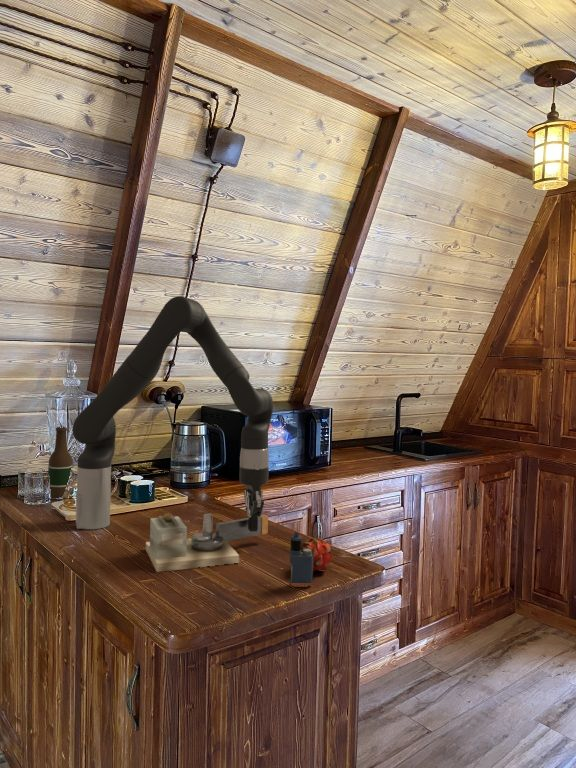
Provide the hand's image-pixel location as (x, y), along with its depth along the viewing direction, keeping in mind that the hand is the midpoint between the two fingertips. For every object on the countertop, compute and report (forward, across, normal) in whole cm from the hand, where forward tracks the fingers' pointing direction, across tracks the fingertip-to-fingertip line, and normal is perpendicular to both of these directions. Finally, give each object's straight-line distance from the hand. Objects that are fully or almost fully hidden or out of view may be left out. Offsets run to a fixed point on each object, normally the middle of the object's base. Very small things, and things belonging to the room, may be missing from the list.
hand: (252, 530), depth 155 cm
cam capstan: (+3, -1, -6) cm, 6 cm away
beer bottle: (+4, -63, -52) cm, 81 cm away
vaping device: (+6, +25, +5) cm, 26 cm away
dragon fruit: (+6, +16, +11) cm, 21 cm away
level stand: (+5, +2, -16) cm, 17 cm away
